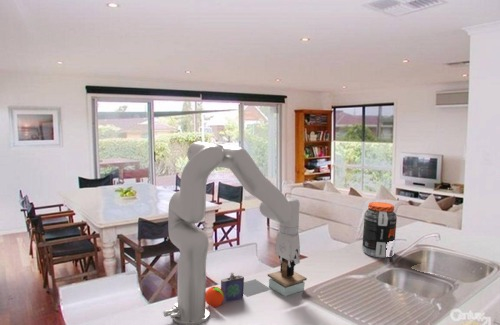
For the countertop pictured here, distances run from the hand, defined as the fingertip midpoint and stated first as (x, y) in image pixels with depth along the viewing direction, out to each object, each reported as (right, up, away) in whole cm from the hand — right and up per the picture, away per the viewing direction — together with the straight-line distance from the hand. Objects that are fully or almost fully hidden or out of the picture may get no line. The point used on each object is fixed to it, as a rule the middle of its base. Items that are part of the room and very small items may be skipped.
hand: (287, 273), depth 150 cm
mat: (-14, -6, +1) cm, 16 cm away
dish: (0, -7, +1) cm, 7 cm away
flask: (-22, -8, -9) cm, 25 cm away
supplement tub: (+52, -3, +45) cm, 69 cm away
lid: (0, -2, 0) cm, 2 cm away
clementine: (-27, -8, -14) cm, 32 cm away
